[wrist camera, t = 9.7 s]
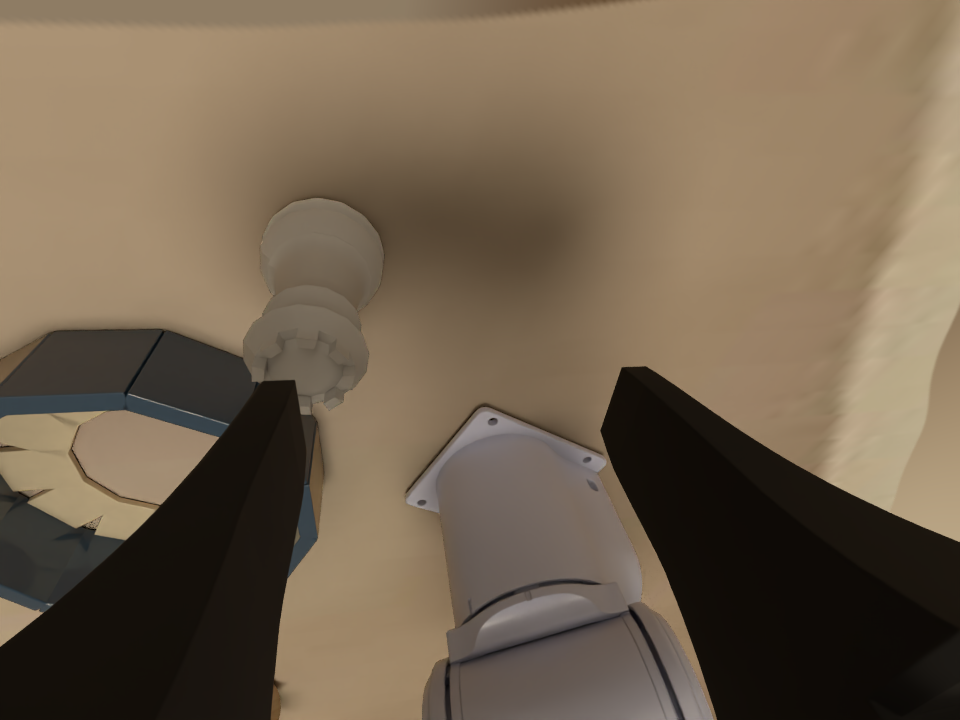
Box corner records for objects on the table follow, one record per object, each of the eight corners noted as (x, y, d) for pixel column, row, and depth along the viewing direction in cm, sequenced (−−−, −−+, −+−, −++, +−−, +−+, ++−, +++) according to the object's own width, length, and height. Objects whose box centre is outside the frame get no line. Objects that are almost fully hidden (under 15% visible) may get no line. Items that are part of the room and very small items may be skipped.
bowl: (372, 406, 24) (373, 468, 21) (257, 567, 30) (244, 635, 26) (-3, 266, 17) (-89, 327, 14) (-57, 512, 23) (-125, 594, 20)
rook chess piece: (252, 281, 19) (194, 422, 13) (278, 173, 17) (224, 276, 11) (363, 314, 21) (361, 452, 14) (400, 220, 19) (416, 333, 12)
